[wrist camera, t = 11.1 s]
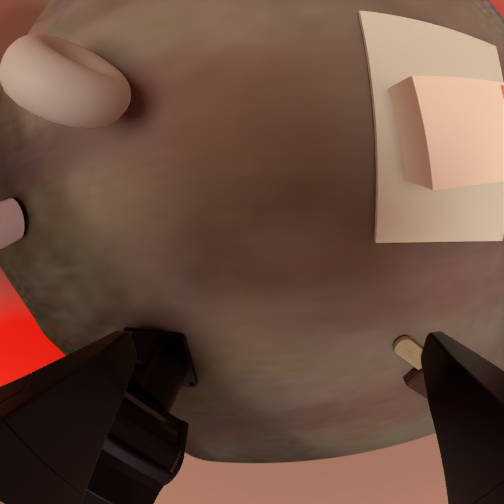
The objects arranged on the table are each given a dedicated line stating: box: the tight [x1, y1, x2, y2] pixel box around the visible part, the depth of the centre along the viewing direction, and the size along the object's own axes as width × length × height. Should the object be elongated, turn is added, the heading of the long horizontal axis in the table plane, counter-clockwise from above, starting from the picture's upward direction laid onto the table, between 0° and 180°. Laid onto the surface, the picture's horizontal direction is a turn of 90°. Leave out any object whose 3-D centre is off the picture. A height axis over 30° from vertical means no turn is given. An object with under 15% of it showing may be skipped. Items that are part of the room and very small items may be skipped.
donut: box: [0, 33, 131, 129], centre depth 12 cm, size 10×4×10 cm, turn 47°
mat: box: [358, 11, 504, 243], centre depth 14 cm, size 16×12×1 cm
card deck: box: [388, 76, 504, 190], centre depth 12 cm, size 9×6×4 cm, turn 104°
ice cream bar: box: [393, 336, 428, 399], centre depth 21 cm, size 5×2×15 cm
